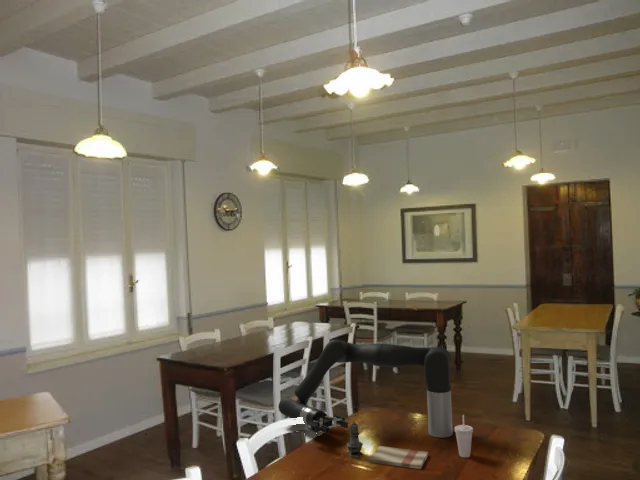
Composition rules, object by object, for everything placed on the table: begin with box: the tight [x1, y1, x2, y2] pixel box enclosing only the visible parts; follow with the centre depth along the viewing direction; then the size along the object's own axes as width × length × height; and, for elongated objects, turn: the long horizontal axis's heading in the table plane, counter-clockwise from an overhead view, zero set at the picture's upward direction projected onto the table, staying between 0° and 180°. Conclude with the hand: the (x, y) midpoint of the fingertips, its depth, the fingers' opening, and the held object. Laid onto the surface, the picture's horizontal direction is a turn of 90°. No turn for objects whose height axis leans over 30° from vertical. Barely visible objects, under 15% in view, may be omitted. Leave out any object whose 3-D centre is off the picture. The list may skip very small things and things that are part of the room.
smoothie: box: [454, 414, 474, 458], centre depth 190 cm, size 6×6×14 cm
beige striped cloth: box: [368, 445, 429, 470], centre depth 189 cm, size 12×18×1 cm, turn 66°
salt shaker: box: [346, 420, 364, 458], centre depth 195 cm, size 6×6×12 cm
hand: (338, 428), depth 202 cm, fingers open, 8 cm apart
